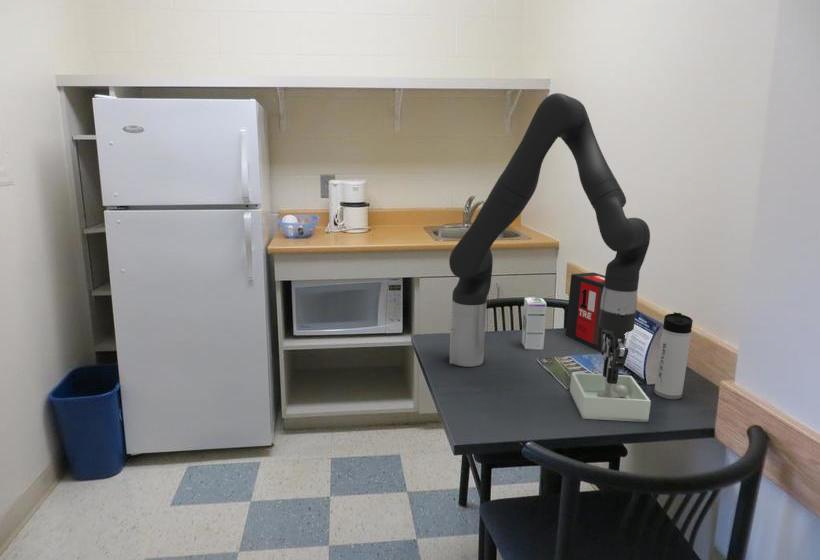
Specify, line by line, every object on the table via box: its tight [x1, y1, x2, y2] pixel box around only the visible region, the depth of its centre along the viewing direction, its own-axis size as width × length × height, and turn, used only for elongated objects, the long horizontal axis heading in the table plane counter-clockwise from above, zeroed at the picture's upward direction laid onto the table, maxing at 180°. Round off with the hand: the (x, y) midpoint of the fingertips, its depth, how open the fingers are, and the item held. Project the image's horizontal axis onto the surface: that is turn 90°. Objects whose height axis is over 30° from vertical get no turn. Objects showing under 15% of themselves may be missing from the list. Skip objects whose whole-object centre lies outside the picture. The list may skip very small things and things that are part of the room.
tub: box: [569, 372, 652, 423], centre depth 134 cm, size 14×14×5 cm
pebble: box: [615, 385, 628, 398], centre depth 138 cm, size 3×3×3 cm
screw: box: [597, 353, 619, 398], centre depth 133 cm, size 13×5×5 cm
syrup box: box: [521, 296, 547, 351], centre depth 171 cm, size 6×6×14 cm
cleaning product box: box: [565, 272, 605, 353], centre depth 176 cm, size 16×9×20 cm, turn 24°
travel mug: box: [653, 312, 694, 400], centre depth 140 cm, size 6×7×20 cm
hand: (609, 379), depth 133 cm, fingers open, 3 cm apart
